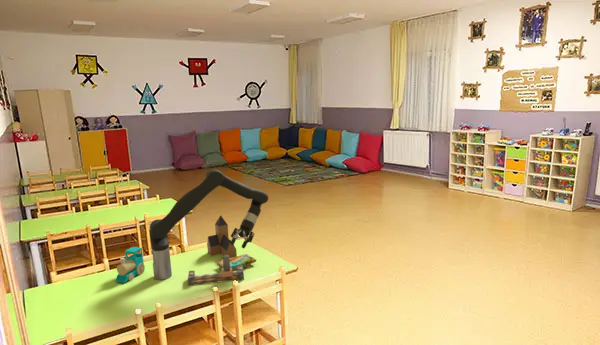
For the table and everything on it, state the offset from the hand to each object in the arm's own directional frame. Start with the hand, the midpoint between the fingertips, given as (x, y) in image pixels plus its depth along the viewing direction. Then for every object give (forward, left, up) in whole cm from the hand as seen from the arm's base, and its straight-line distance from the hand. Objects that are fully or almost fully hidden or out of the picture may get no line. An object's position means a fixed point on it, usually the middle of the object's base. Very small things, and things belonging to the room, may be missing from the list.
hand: (237, 246), depth 235 cm
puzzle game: (-1, +7, -16) cm, 17 cm away
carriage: (-7, -7, -14) cm, 17 cm away
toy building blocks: (-9, +26, -16) cm, 32 cm away
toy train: (-62, +9, -16) cm, 64 cm away
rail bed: (-13, -7, -15) cm, 21 cm away
